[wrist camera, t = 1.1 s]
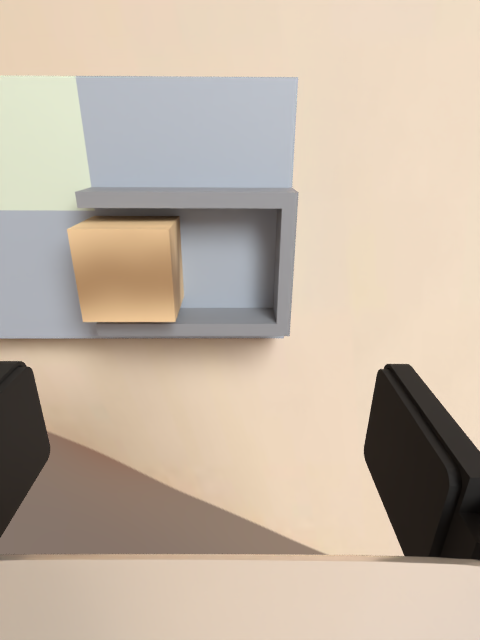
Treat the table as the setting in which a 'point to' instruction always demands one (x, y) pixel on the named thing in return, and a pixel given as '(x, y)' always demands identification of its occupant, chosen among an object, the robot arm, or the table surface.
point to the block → (128, 268)
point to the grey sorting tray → (150, 196)
